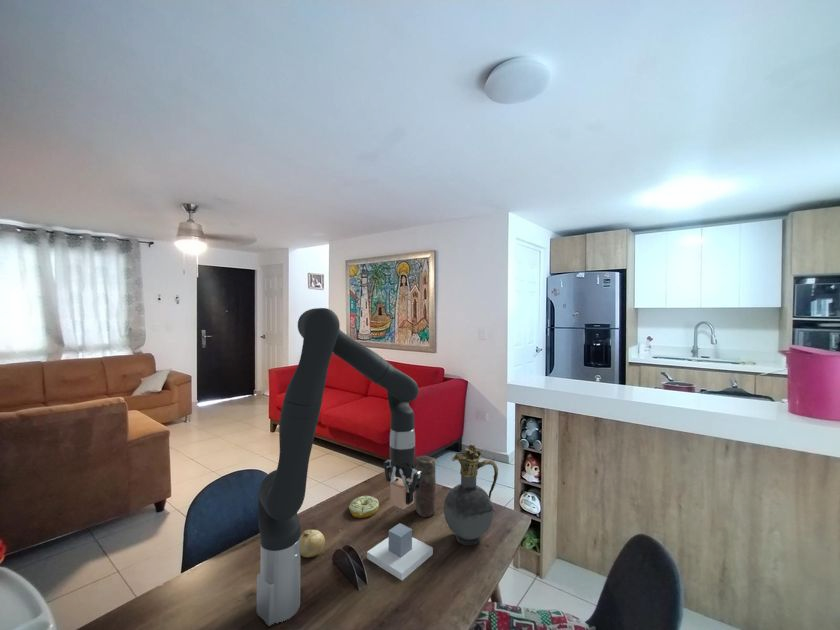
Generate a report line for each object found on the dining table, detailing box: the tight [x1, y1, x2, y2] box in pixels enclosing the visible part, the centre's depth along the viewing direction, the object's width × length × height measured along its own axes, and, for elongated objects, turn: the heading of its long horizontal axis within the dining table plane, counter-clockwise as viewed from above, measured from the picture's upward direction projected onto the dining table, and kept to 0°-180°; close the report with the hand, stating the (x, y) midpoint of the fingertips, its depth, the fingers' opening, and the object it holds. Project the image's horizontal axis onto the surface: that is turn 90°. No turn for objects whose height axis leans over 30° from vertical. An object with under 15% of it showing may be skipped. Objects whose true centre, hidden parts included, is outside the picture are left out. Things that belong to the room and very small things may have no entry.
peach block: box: [389, 478, 415, 510], centre depth 108 cm, size 5×5×6 cm
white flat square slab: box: [366, 536, 434, 581], centre depth 109 cm, size 14×14×2 cm
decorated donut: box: [348, 495, 380, 519], centre depth 133 cm, size 10×11×4 cm
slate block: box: [388, 522, 413, 558], centre depth 109 cm, size 5×5×6 cm
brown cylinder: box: [415, 455, 437, 518], centre depth 133 cm, size 8×7×20 cm
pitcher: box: [443, 444, 499, 546], centre depth 118 cm, size 11×19×30 cm, turn 113°
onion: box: [300, 528, 326, 558], centre depth 110 cm, size 8×8×7 cm
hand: (402, 499), depth 108 cm, fingers closed on peach block, 5 cm apart
